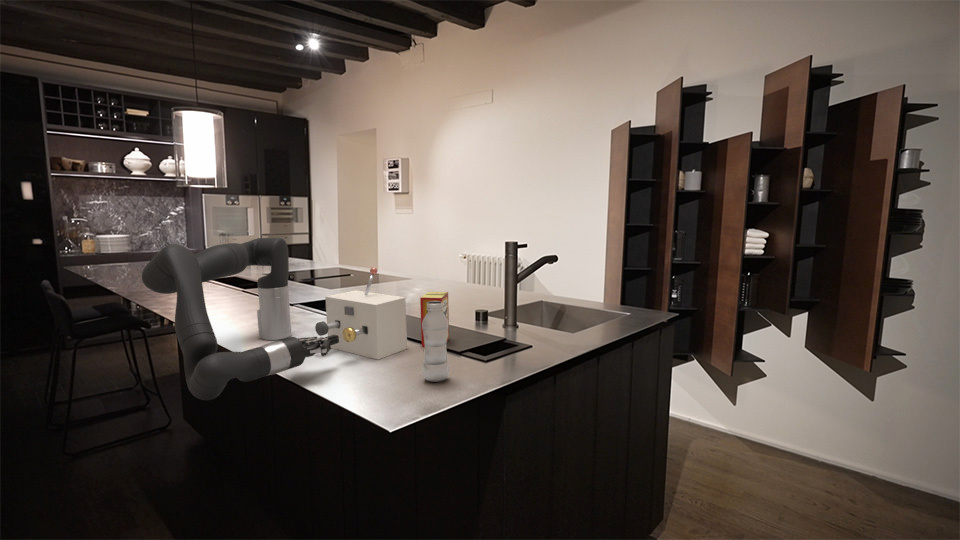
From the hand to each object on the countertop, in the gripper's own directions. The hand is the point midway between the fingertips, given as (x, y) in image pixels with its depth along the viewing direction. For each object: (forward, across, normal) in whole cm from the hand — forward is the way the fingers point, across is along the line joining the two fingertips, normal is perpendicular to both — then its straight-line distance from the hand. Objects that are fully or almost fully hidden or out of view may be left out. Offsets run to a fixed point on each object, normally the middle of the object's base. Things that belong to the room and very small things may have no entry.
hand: (337, 338), depth 131 cm
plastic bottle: (+7, +29, -8) cm, 31 cm away
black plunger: (+7, -12, -2) cm, 14 cm away
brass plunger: (+7, 0, -2) cm, 7 cm away
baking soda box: (+31, +8, -8) cm, 34 cm away
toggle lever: (+16, -6, +8) cm, 19 cm away
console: (+16, -6, -8) cm, 19 cm away
